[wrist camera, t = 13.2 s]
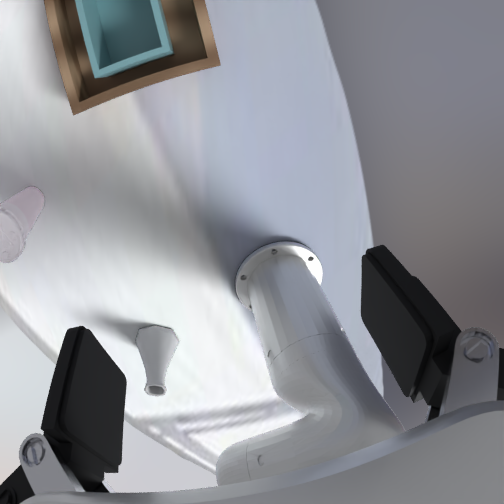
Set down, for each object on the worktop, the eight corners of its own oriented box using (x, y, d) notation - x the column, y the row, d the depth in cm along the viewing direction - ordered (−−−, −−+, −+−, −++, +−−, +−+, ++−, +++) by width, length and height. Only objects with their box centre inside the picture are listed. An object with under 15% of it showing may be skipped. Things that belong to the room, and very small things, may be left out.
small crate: (174, 54, 27) (170, 50, 22) (111, 76, 27) (94, 78, 22) (154, -25, 22) (147, -42, 17) (91, -2, 21) (72, -13, 16)
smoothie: (23, 167, 30) (-39, 218, 19) (61, 192, 33) (11, 254, 22) (7, 206, 32) (-47, 266, 21) (43, 230, 35) (-2, 298, 24)
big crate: (217, 66, 29) (220, 65, 26) (87, 109, 29) (73, 115, 25) (188, -49, 21) (188, -64, 17) (58, -2, 21) (42, -9, 17)
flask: (180, 354, 51) (182, 403, 43) (138, 353, 50) (134, 402, 42) (178, 324, 48) (179, 376, 39) (132, 323, 46) (126, 375, 38)
